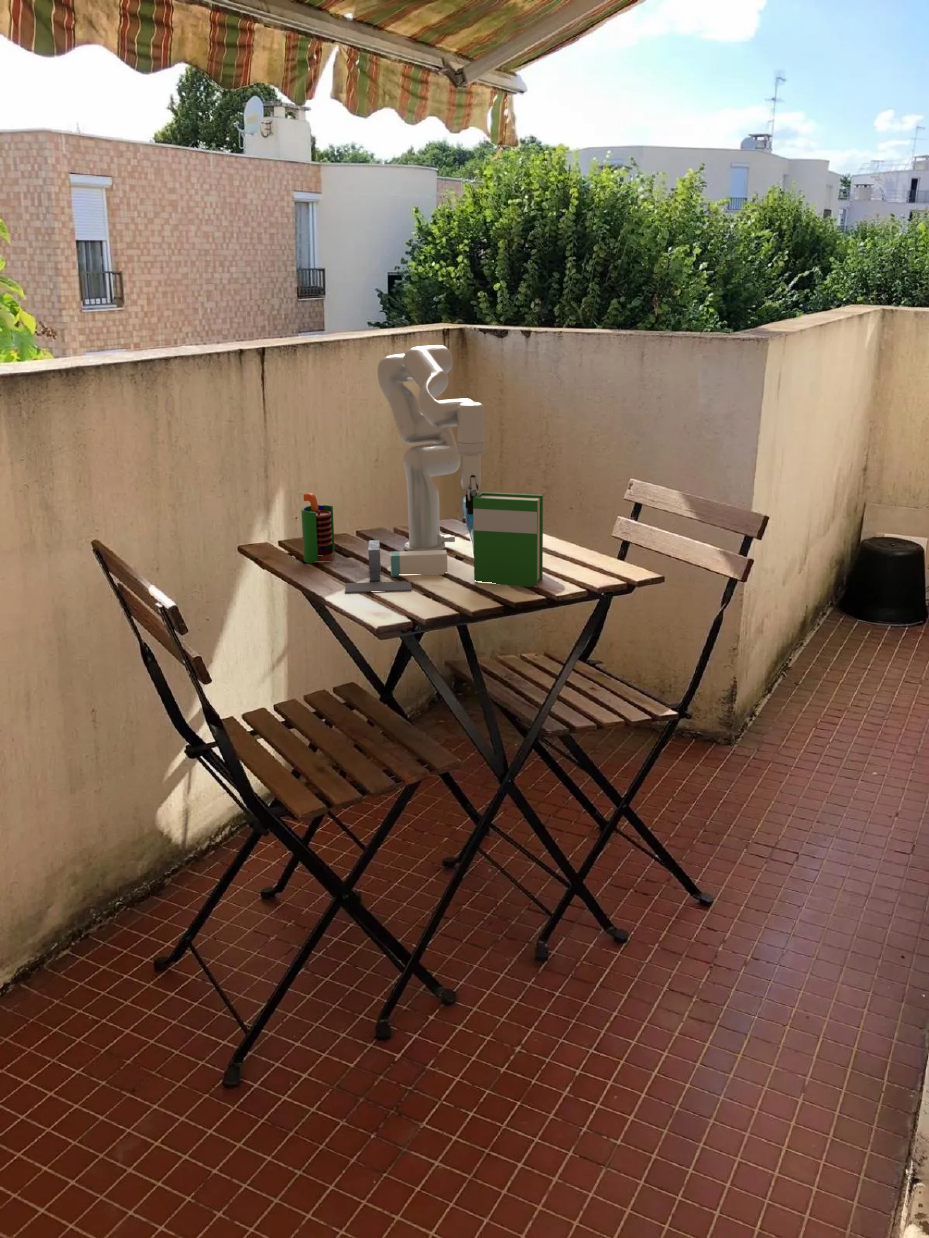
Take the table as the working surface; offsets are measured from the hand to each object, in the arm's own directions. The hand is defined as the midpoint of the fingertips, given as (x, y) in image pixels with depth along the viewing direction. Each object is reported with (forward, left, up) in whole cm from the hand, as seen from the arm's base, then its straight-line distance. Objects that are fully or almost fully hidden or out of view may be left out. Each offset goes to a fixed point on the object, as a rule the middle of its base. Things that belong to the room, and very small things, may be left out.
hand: (472, 510), depth 309 cm
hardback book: (-9, +11, -18) cm, 23 cm away
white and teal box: (+16, 0, -18) cm, 24 cm away
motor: (+45, -18, -18) cm, 52 cm away
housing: (+28, 0, -18) cm, 33 cm away
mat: (+27, +13, -18) cm, 35 cm away
